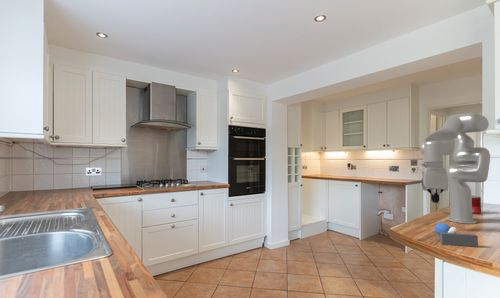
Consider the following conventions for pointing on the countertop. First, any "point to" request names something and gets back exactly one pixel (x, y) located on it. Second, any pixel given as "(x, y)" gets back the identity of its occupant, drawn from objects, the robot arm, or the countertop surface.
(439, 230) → the ball
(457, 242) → the block
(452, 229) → the pin
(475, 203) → the canned food
